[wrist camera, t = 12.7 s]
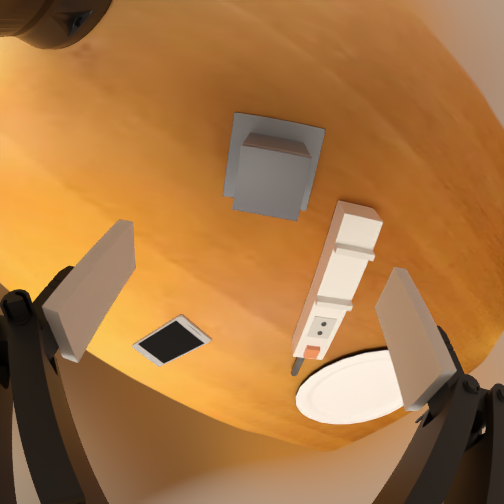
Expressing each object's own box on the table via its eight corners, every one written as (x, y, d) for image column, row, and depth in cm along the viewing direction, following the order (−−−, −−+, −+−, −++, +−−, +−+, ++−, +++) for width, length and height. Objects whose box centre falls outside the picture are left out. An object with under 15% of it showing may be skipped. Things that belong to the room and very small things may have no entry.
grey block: (249, 132, 31) (241, 144, 24) (304, 142, 31) (312, 158, 24) (241, 183, 34) (231, 210, 27) (293, 192, 34) (297, 221, 27)
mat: (235, 112, 30) (234, 112, 30) (324, 128, 30) (325, 129, 30) (223, 194, 35) (222, 195, 35) (305, 209, 35) (306, 210, 35)
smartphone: (132, 343, 52) (131, 346, 51) (182, 311, 46) (180, 315, 45) (160, 363, 55) (158, 367, 54) (212, 337, 49) (212, 341, 48)
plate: (449, 365, 51) (451, 371, 49) (361, 426, 65) (362, 431, 63) (362, 323, 45) (364, 331, 43) (268, 402, 59) (268, 409, 57)
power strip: (338, 200, 34) (346, 217, 30) (373, 208, 34) (386, 226, 30) (280, 368, 51) (280, 391, 47) (305, 371, 51) (306, 393, 47)
